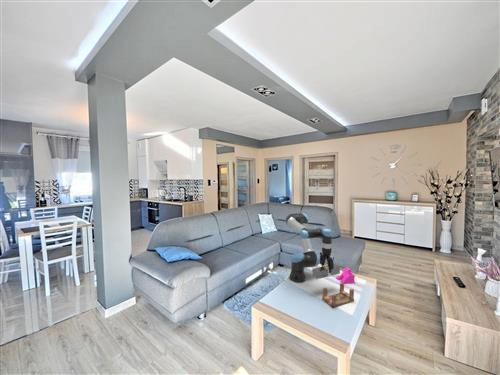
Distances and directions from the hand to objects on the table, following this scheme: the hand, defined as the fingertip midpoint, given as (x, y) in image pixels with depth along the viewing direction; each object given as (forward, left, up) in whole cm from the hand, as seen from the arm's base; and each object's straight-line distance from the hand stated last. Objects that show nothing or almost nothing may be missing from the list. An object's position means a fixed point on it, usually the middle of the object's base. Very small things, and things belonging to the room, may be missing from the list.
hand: (326, 274), depth 177 cm
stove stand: (+13, 0, -15) cm, 20 cm away
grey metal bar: (0, 0, 0) cm, 0 cm away
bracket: (-7, +29, -16) cm, 34 cm away
